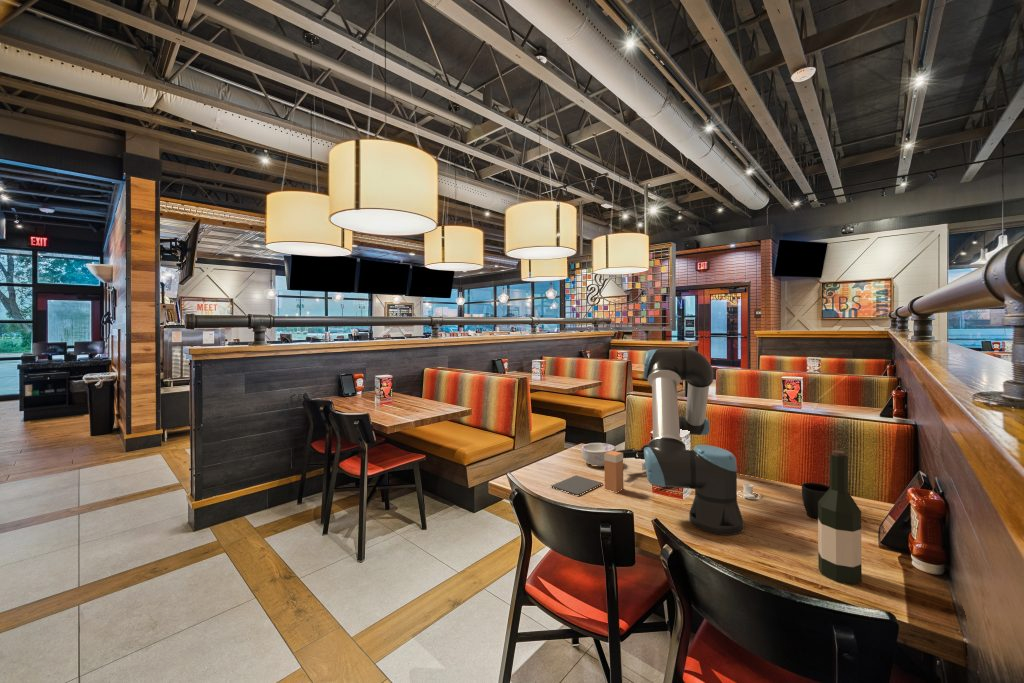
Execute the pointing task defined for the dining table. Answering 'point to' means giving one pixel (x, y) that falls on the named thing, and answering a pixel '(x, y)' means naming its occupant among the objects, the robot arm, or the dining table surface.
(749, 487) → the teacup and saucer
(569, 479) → the mat
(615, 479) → the orange wooden block
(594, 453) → the grey bowl
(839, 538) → the wine bottle
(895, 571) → the dining table surface
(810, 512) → the mug
